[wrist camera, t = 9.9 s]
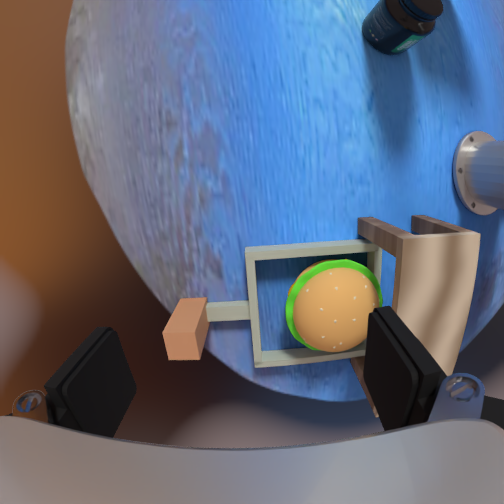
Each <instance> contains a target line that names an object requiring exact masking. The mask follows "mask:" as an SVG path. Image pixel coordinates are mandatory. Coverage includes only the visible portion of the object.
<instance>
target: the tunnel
mask: <svg viewBox="0 0 504 504" xmlns="http://www.w3.org/2000/svg"><path fill="white" fill-rule="evenodd" d="M411 230H412V231H414V232H417V233H419V234H421V235H414V234H411V233H409V232H407V231H404V230H402V229H400V228H397V227H395V226H393V225H390V224H388V223H386V222H383V221H381V220H378V219H376V218H374V217H362V218H358V234H360V235H361V236H363V237H365V238H366V239H368V240H369V241H371V242H373V243H374V244H376V245H377V246H379V247H380V248H382V249H384V250H385V251H387V252H388V253H390V254H391V255H393V256H394V257H396V268H395V281H394V291H393V301H392V309H393V310H394V311H395V313H396V314H397V315H398V316H399V317H400V319H401V320H402V321H403V322H404V323H405V325H406V326H407V327H408V328H409V329H410V331H411V332H412V333H413V334H414V336H415V337H417V338H418V339H419V341H420V342H421V343H422V344H423V345H424V347H425V348H426V349H427V351H428V352H429V353H430V354H431V356H432V357H433V358H434V359H435V361H436V362H437V363H438V365H439V366H440V367H441V368H442V370H443V371H444V372H445V374H446V375H447V376H450V375H452V372H453V369H454V366H455V363H456V360H457V356H458V353H459V350H460V346H461V343H462V339H463V335H464V331H465V327H466V323H467V319H468V314H469V310H470V305H471V300H472V295H473V289H474V283H475V277H476V270H477V263H478V255H479V246H480V235H481V234H479V233H476V232H474V231H471V230H468V229H465V228H462V227H459V226H456V225H453V224H450V223H447V222H444V221H441V220H438V219H435V218H432V217H428V216H425V215H412V229H411ZM364 361H365V356H358V357H352V358H351V361H350V363H351V365H352V367H353V369H354V371H355V373H356V375H357V377H358V379H359V382H360V384H361V386H362V388H363V390H364V392H365V395H366V397H367V399H368V401H369V403H370V405H371V408H372V409H373V412H374V414H375V416H376V417H379V415H378V413H377V410H376V408H375V406H374V403H373V401H372V398H371V396H370V394H369V391H368V389H367V386H366V384H365V382H364V377H363V370H364Z"/></svg>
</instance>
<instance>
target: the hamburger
mask: <svg viewBox="0 0 504 504" xmlns="http://www.w3.org/2000/svg"><path fill="white" fill-rule="evenodd" d="M382 304H383V299H382V293H381V288H380V284H379V282H378V280H377V278H376V277H375V275H374V274H373V273H372V272H371V271H370V270H369V269H368V268H367V267H365V266H363V265H361V264H359V263H357V262H354V261H351V260H348V259H343V260H338V259H327V260H322V261H319V262H316V263H314V264H312V265H310V266H309V267H307V268H306V269H305V270H304V271H303V272H302V273H301V274H300V275H299V276H298V277H297V279H296V281H295V282H294V284H292V285H291V287H290V289H289V291H288V298H287V301H286V309H285V313H286V322H287V325H288V327H289V330H290V332H291V334H292V335H293V337H294V338H295V339H296V340H298V341H299V342H301V343H302V344H304V345H305V346H306V347H308V348H310V349H312V350H321V351H327V352H341V351H345V350H348V349H351V348H353V347H355V346H357V345H358V344H360V343H361V342H362V341H364V340H365V339H366V338H367V328H368V315H369V313H371V312H373V310H374V308H378V307H382Z"/></svg>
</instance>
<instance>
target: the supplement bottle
mask: <svg viewBox="0 0 504 504" xmlns="http://www.w3.org/2000/svg"><path fill="white" fill-rule="evenodd" d="M442 11H443V5H442V2H441V1H440V0H380V1H379V2H378V3H377V4H376V5H375V7H374V8H373V9H372V10H371V12H370V13H369V14H368V15H367V17H366V18H365V19H364V21H363V25H362V30H363V34H364V36H365V38H366V40H367V41H368V42H369V43H370V45H371V46H373V47H374V48H375V49H376V50H378V51H380V52H382V53H384V54H388V55H398V54H401V53H403V52H404V51H406V50H407V49H408V48H410V47H411V46H413V45H414V44H416V43H417V42H419V41H420V40H421V39H423V38H424V37H426V36H427V35H429V34H430V33H431V32H432V31H433V30H434V28H435V23H436V21H435V19H437V17H439V16H440V15H441V14H442Z"/></svg>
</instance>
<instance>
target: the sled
mask: <svg viewBox="0 0 504 504" xmlns="http://www.w3.org/2000/svg"><path fill="white" fill-rule="evenodd" d="M359 252H367V268H368V269H369V270H370V271H371V272H372V273H373V274H374V275H375V277H376V278H377V280H378V282H379V284H380V280H381V264H382V248H380V247H379V246H377V245H376V244H374V243H373V242H371V241H369V240H368V239H355V240H340V241H325V242H311V243H297V244H282V245H268V246H254V247H245V259H246V271H247V283H248V294H249V300H245V301H229V302H211V303H207V297H204V298H183V299H180V301H179V303H178V304H177V306H176V308H175V310H174V312H173V314H172V316H171V318H170V319H169V321H168V323H167V325H166V327H165V329H164V331H163V337H164V341H165V345H166V349H167V353H168V357H169V360H200V358H201V354H202V350H203V346H204V343H205V339H206V335H207V331H208V328H209V324H210V321H231V320H249V319H251V329H252V340H253V352H254V363H255V368H259V367H273V366H285V365H296V364H306V363H315V362H323V361H331V360H338V359H345V358H352V357H358V356H365V351H366V340H367V338H366V339H365V340H364V341H362V342H361V343H360V344H358V345H357V346H355V347H353V348H351V349H348V350H345V351H341V352H327V351H321V350H312V349H310V348H308V347H305V348H295V349H284V350H272V351H261V338H260V324H259V311H258V297H257V284H256V270H255V260H267V259H280V258H294V257H307V256H321V255H334V254H347V253H359Z"/></svg>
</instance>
